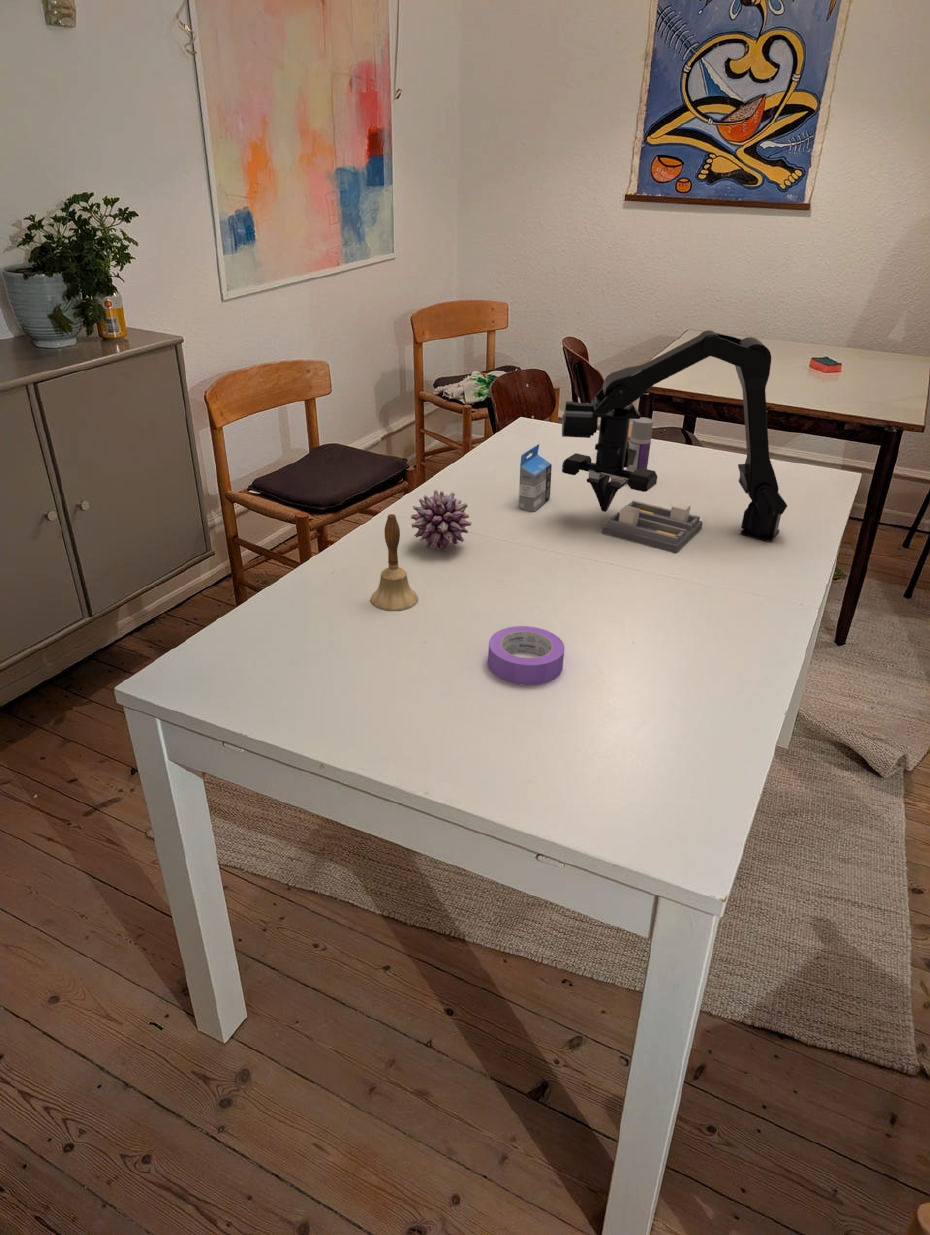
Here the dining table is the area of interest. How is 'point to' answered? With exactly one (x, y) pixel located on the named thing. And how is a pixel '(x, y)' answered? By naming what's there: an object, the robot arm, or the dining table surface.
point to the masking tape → (525, 668)
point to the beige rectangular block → (680, 512)
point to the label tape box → (534, 480)
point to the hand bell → (393, 576)
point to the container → (640, 442)
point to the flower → (440, 520)
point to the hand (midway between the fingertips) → (604, 511)
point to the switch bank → (654, 528)
